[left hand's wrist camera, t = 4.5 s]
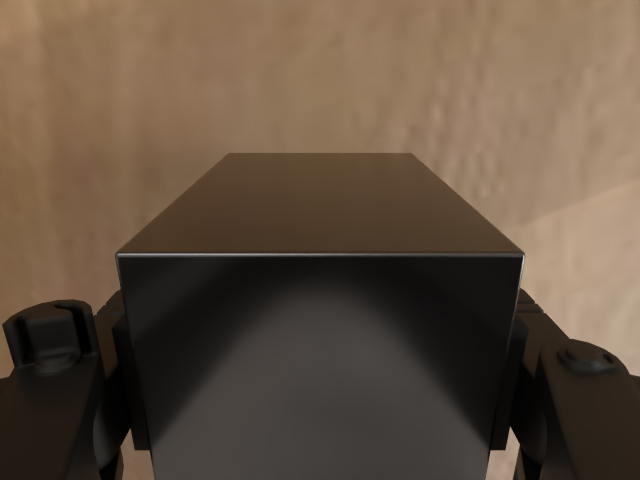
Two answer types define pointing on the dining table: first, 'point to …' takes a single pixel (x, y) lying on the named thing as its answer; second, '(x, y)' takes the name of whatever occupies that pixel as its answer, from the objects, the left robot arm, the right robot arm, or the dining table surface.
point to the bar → (320, 322)
